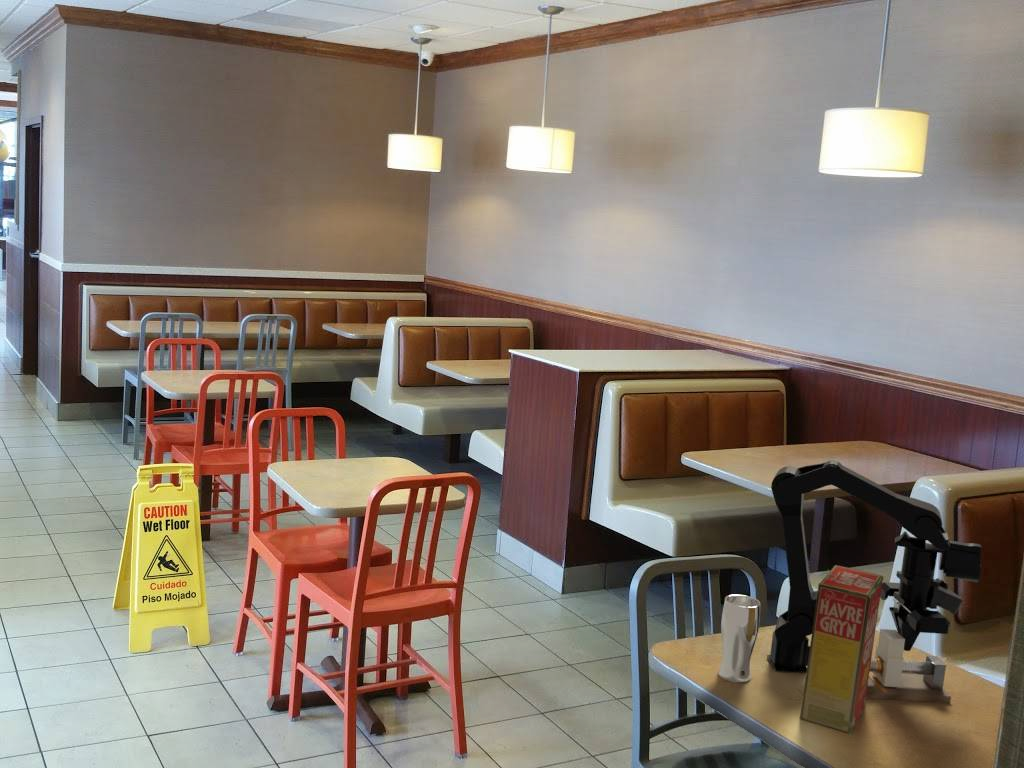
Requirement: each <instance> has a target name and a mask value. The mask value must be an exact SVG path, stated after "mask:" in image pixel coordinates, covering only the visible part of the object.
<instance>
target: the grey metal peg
mask: <svg viewBox="0 0 1024 768" xmlns="http://www.w3.org/2000/svg"><path fill="white" fill-rule="evenodd" d="M884 662H885V661H884V660H883V659H881V658H875V657H874V658H871V664H870V671H869V672H875V673H882V672H883V670H884ZM946 667H947V664H946V663H944V661H943V660H942V659H941V658H940V657H938V656H937V655H926V657H925V661H919V660H904V661H903V668H902V674H920V675H924V677H923V681H924V682H925V683H926V684H927V685H928V686H929V687H930V688H931V689H932V690H943V689H944V682H945V675H946Z"/></svg>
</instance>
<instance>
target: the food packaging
mask: <svg viewBox="0 0 1024 768" xmlns="http://www.w3.org/2000/svg"><path fill="white" fill-rule="evenodd" d="M827 573H828V574H826V576H824V578H822V580H821V582H819V583H818V586H817V587H818V588H817V591H818V594H817V601H816V608H815V616H814V623H813V630H812V634H811V638H810V644H809V646H810V651H809V658H808V665H807V666H806V667H807V673H806V675H805V680H804V681H805V682H804V689H803V694H802V695H803V696H802V703H801V708H800V716H799V719H800V720H803V721H807V722H810V723H814V724H816V725H820V726H824V727H826V728H830V729H834V730H837V731H840V732H845V733H848V734H850V735H851V734H852V732H853V730H854V729H855V727H856V725H857V723H858V722H859V720H860V717H861V716H862V713H863V711H864V710H865V707H866V699H867V698H866V693H867V686H868V678H869V671H870V664H871V659H872V656H873V649H874V642H875V635H876V629H877V623H878V620H877V619H878V614H879V607H880V602H881V598H880V595H881V588H882V583H884V582H883V581H884V578H885V577H884V576H883V575H880V574H876V573H872V572H868V571H862V570H858V569H855V568H850V567H846V566H841V565H836V564H835V565H834V566H833V567H831V570H829V572H827Z"/></svg>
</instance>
